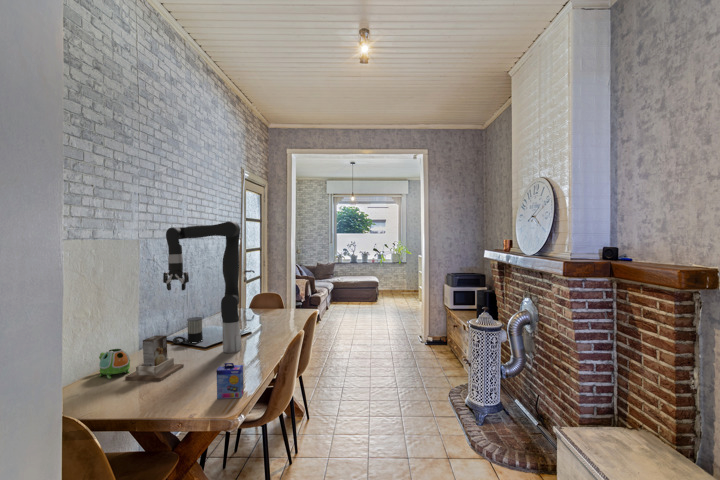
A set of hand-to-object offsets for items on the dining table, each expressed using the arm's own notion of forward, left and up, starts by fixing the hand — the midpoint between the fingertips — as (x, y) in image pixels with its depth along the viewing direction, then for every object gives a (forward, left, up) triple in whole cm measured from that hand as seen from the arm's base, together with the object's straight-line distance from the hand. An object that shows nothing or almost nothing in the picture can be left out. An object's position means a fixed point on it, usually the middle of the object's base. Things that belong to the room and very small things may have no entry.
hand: (176, 290), depth 214 cm
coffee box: (-8, +31, -35) cm, 47 cm away
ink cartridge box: (-57, +53, -36) cm, 86 cm away
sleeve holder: (-8, +31, -36) cm, 48 cm away
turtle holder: (+13, +33, -36) cm, 51 cm away
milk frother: (+6, -20, -36) cm, 42 cm away
